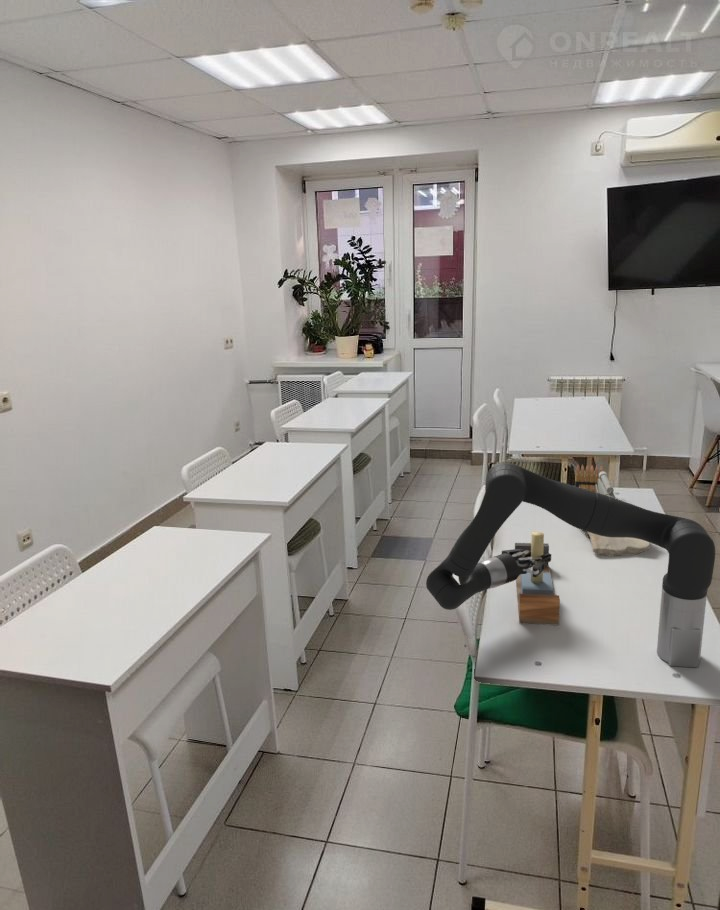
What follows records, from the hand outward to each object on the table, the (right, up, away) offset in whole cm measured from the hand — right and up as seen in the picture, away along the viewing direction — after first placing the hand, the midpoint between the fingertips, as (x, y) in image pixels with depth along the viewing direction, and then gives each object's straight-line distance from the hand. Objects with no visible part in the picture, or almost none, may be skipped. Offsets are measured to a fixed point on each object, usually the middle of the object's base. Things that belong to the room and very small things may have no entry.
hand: (544, 554), depth 176 cm
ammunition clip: (+41, +12, +80) cm, 91 cm away
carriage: (-2, -11, +2) cm, 12 cm away
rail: (0, -12, +9) cm, 15 cm away
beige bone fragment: (+34, -2, +38) cm, 51 cm away
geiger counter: (+39, +6, +61) cm, 73 cm away
